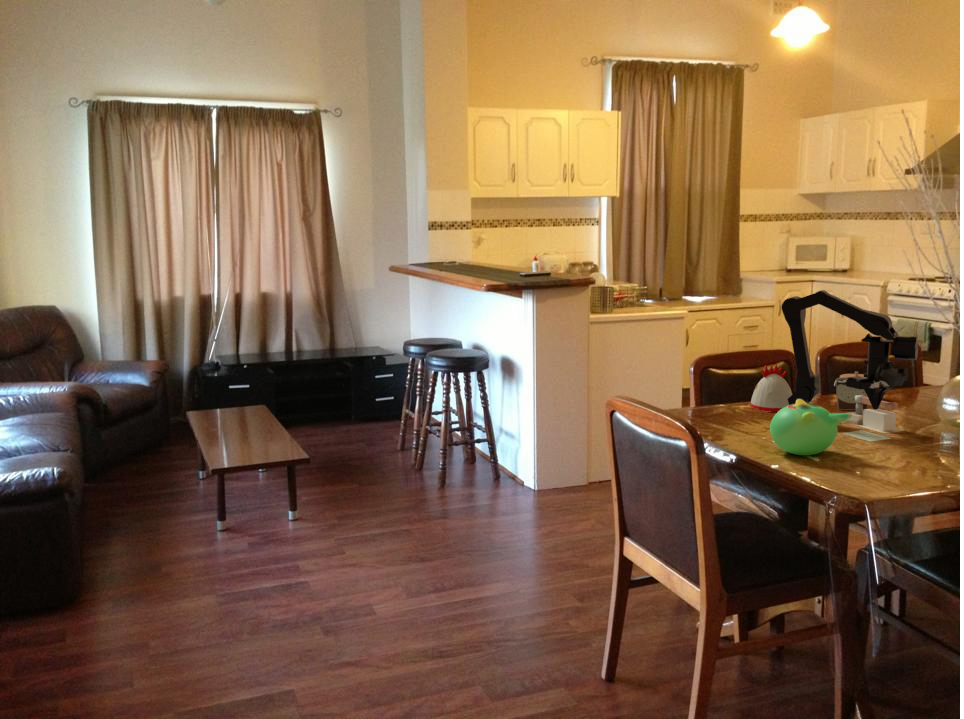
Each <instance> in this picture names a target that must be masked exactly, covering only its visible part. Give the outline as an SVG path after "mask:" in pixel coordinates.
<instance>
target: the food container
mask: <svg viewBox="0 0 964 719" xmlns="http://www.w3.org/2000/svg"><path fill="white" fill-rule="evenodd" d="M847 378H848V377H843V378H840V377H838V378H836V379H835V381H834V384H833V386H834V387H835V391H836V392H835V393H836V409H837V410H838V411H856V402H855V396H856V395H862V396H865V397H868V396H867V394H866V393H865V391H864V389H856V388H851V387H847V386H846V380H847ZM868 406H869V405H868V404H863V411H864V409H869V408H868Z"/></svg>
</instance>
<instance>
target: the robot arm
mask: <svg viewBox="0 0 964 719" xmlns="http://www.w3.org/2000/svg"><path fill="white" fill-rule="evenodd" d="M817 305H821V306H822V307H824V308H827V309H829V310H831V311H832V312H835V313H838V314H840V315H842V316H844V317H845V318H848V319H849V320H852V321H855V322H856V323H857V324H858V325H859V326H861V327H862V328H864V329H865V330H866V331H867V332H868V333H867V334H866V335H865V337H862V339H861V342H862V343H868V345H867V347H868V348H867V359H864V360H863V361H864V363H863V364H866V366H867V367H866V372H865V373H863V375H864V377H866V378H863V377H859V376H855V377H848V378H847V380H846V386H847V387H851V388H856V389H864V391H865V393H866V394H867V396H868V398H869V401H870V403H871V405H870V406H871V408H873V409H875V410H876V409H880V407H879V405H880V403H881V401H883V398H884V396H885V395H886V393H887V392H889V390H891V389H893V388H894V387H896V386H899V387H900V386H904V385H909V384H908V382H909V369H908V368H907V367H901V368H895V367H894V366H893V364H894V363H893V361H891V360H889V359H890V354H891V356H892V357H894V358H895V359H896V360H897V359H898V360H910V361H911V360H913V361H916V360H917V359H918V354H919V346H918V345H919V344H918V336H915V335H911V336H905V335H904V336H903V335H901V336H900V335H899V334H898V333H897V331H896V329H895V328H894V327H893V322H892V318H891V317H890V316H888V315H887V314H884V313H880V312H877V311H872V310H869V309H868V310H867V309H865V308H864V309H863V308H861V307H859V306H857V305H855V304H852V303H851V302H848V301H847V300H844V299H841V298H840V297H838V296H835V295H833V294H831V293H829V292H828V291H826V290H824V289H822V290H818V291H816V292H814V293H812V294H809V295H805V296H803V297H801V296H797V295H796V296H795V295H794V296H791V297H789V298H786V299H785V300H784V301H783V302H782V304H781V311H782V314H783V317H784V320H785V321H786V324H787V325H788V327H789V331H790V338H791V342H792V343H791V344H792V348H793V349H792V351H793V357H794V361H795V367H796V378H795V387H794V389H795V392H794V393H792V396H790V397H789V398H788V399H787V400H788V403H789V405H792V404H795V403H796V400H797V399H802V400H804V401H805V402H806V403H809V404H812V401H813V399H814V398H815V397H816V396H818V395H819V393H820V388H822V384H821V383H820V374H815V373H814V371H813V370H812V363H811V358H810V352H809V346H808V340H807V334H806V328H805V323H806V317H807V316H806V314H807V309H809V308H812V307H815V306H817ZM890 344H891V345H890ZM890 346H891V347H890Z"/></svg>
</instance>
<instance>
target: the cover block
mask: <svg viewBox="0 0 964 719" xmlns="http://www.w3.org/2000/svg"><path fill="white" fill-rule="evenodd" d="M896 418H897V413H896V412H894V411H893V412H892V411H890V410H889V411H888V410H884V409H882V408H878V409H876V410H875V409H873V407H871V408H867V409H864V410H863V424H862V425H863V426H866V427H870V428H874V429H877V430H881V431H888V430H895V428H896V421H897V419H896Z"/></svg>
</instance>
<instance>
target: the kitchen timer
mask: <svg viewBox="0 0 964 719" xmlns="http://www.w3.org/2000/svg"><path fill="white" fill-rule="evenodd" d="M782 369H783V368H782V367H779V369H778V365H777V364H775V366H774V368H773V364H770V366H769V369H768V366H767V364H765V365H764V370H763V369H762V368H760V372H761V374H762V376H763V377H762V378H761V379H760V380H759V381H758V383H757V384H756V385H755V386H754V390H753V393H752V396H751V400H750V408H751V407H753V408H755V409H759V410H764V411H771V412H778V411H779V410H781V409H782V408H784V407H786V406H788V405H789V403H788V400H787V399H788V398H789V397H790V396H792V395H793V392H792V390H791V387H790V385H789V384H788V383H789V382H787V381H786V379H784V377H785V375H786V373H787V372H786V370H785V371H784V372H783V373H782ZM781 373H782V374H781ZM771 412H770V413H771Z"/></svg>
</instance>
